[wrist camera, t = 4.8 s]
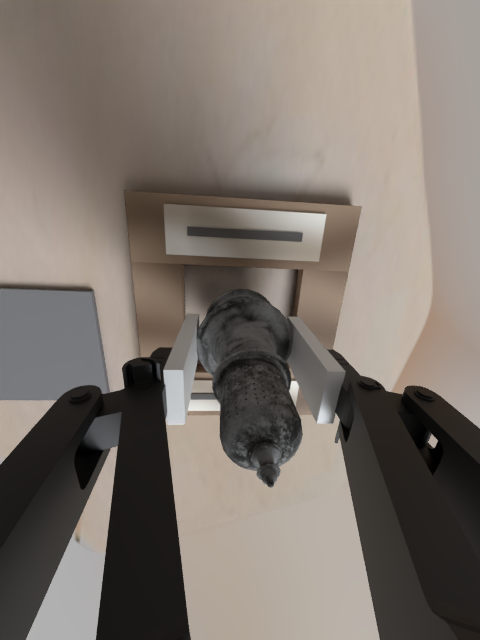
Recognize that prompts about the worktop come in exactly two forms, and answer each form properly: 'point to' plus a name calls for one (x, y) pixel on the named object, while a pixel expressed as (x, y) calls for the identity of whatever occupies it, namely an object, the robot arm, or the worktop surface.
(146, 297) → the label board
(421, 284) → the worktop surface
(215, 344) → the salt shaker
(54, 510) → the robot arm
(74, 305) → the rubber mat
